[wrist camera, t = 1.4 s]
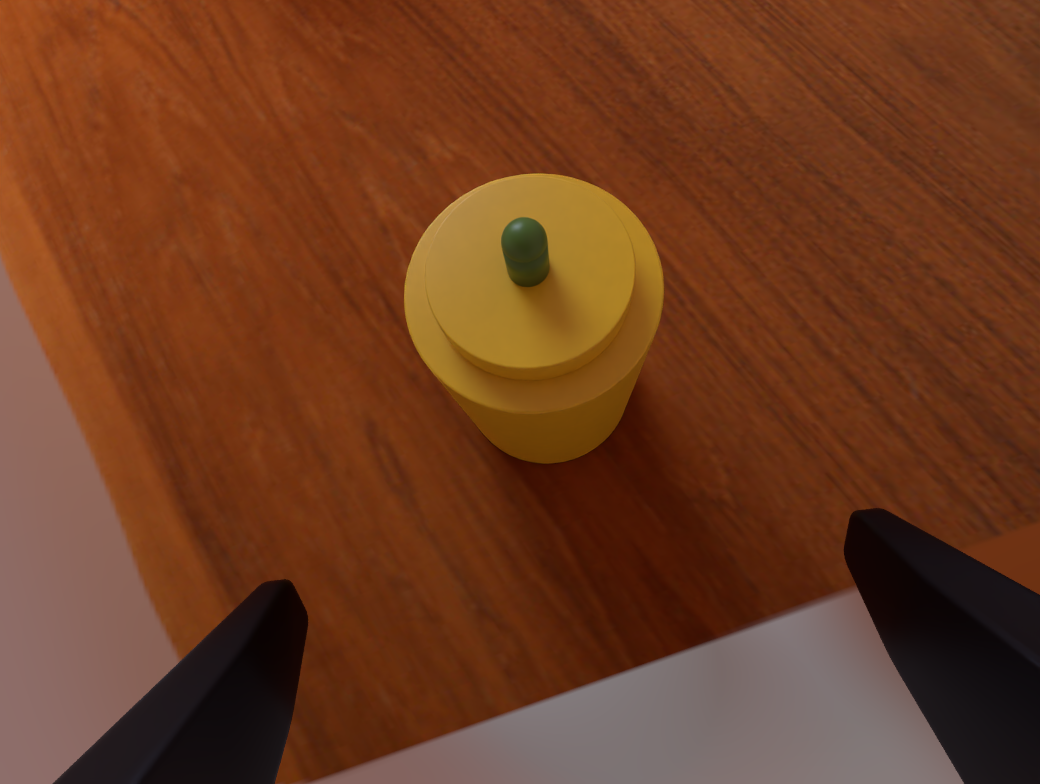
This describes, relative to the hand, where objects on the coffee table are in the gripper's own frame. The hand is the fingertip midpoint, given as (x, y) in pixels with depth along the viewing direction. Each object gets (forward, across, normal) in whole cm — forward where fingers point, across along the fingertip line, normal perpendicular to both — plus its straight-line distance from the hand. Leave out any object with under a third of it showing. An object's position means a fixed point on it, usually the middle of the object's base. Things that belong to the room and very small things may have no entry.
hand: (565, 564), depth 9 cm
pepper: (+14, 0, +4) cm, 14 cm away
